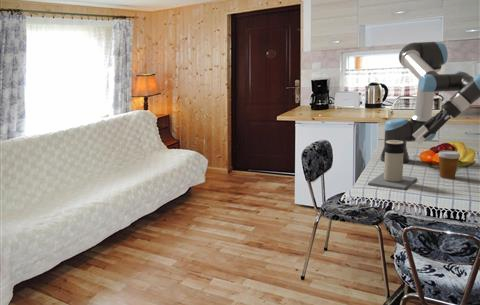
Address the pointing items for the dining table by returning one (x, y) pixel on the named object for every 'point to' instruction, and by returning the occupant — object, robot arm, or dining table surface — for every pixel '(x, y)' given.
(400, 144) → the travel mug
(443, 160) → the disposable coffee cup
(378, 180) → the placemat
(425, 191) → the dining table surface
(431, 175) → the dining table surface
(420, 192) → the dining table surface
